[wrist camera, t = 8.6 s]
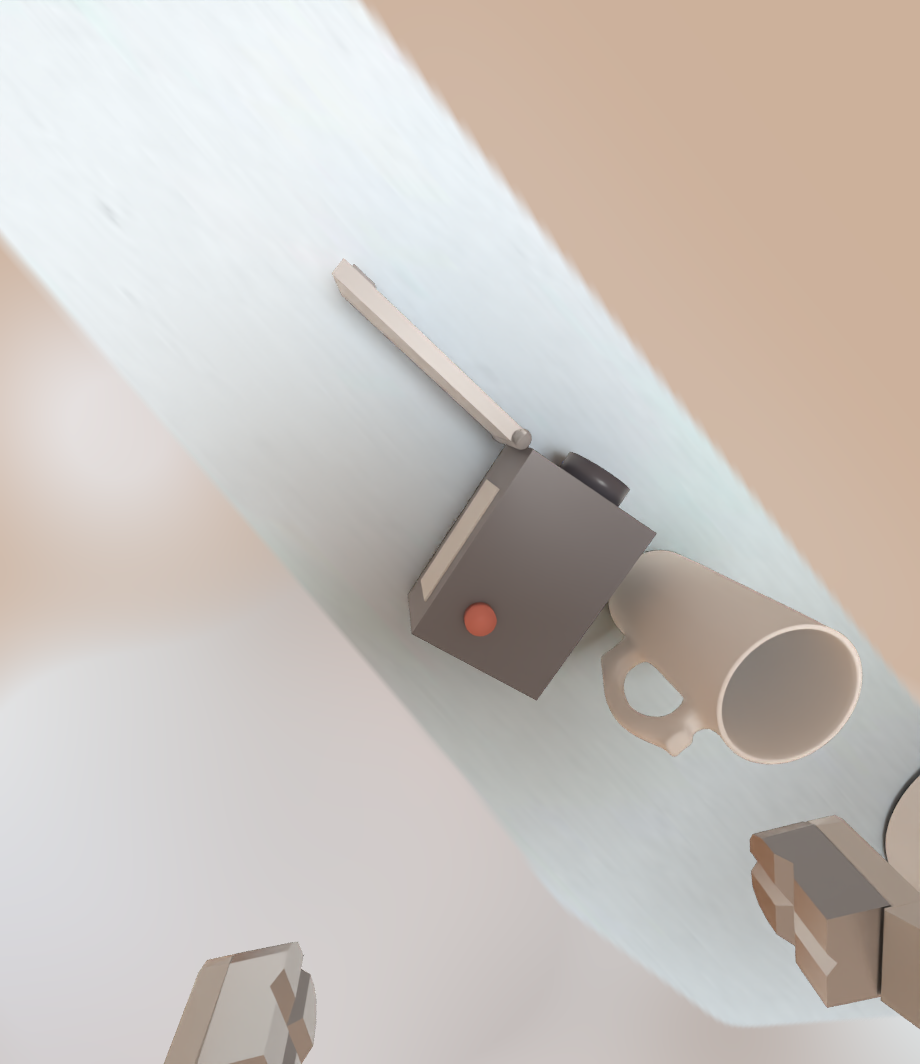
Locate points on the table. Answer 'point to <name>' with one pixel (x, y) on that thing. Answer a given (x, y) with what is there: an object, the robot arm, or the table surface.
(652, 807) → the table surface
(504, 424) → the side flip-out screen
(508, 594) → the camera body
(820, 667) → the mug
